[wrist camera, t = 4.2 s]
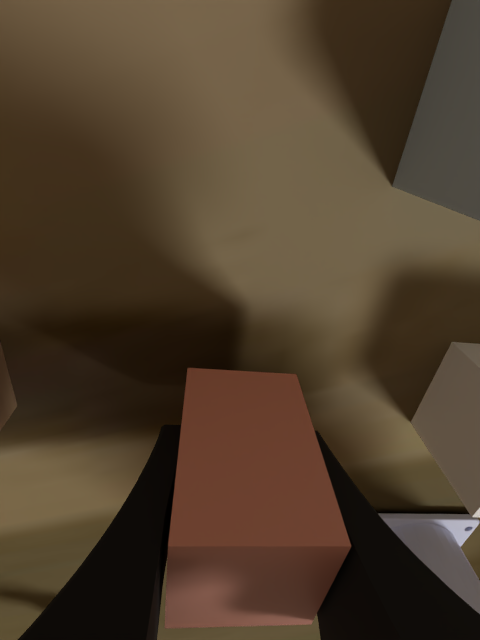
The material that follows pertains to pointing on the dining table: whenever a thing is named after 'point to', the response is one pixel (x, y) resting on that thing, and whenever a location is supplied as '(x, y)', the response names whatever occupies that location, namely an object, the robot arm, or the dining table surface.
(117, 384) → the dining table surface
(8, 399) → the walnut block
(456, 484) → the pale grey block
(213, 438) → the brick-red block
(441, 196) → the blue-grey block
